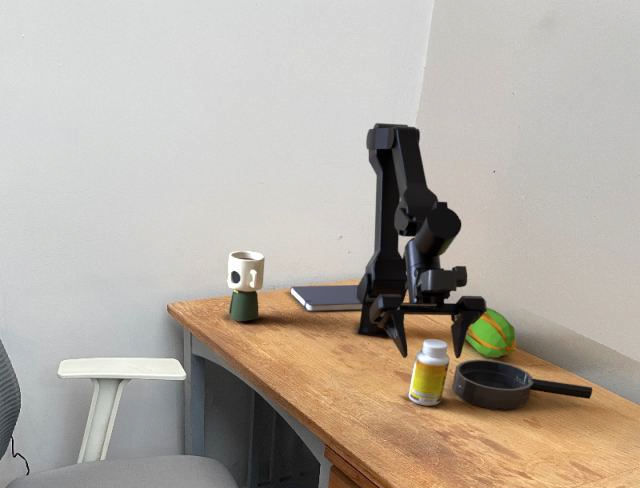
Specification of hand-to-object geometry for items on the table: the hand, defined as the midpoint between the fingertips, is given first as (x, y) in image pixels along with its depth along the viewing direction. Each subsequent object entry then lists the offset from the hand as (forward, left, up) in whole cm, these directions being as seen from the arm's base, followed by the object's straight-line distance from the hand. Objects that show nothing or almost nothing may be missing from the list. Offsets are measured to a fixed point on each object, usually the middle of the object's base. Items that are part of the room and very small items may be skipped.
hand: (432, 357), depth 129 cm
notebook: (-21, +48, -8) cm, 53 cm away
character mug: (-39, +27, -8) cm, 48 cm away
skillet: (+11, +7, -8) cm, 15 cm away
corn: (+10, +31, -8) cm, 33 cm away
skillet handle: (+22, +7, -6) cm, 24 cm away
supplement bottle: (0, 0, -8) cm, 8 cm away
